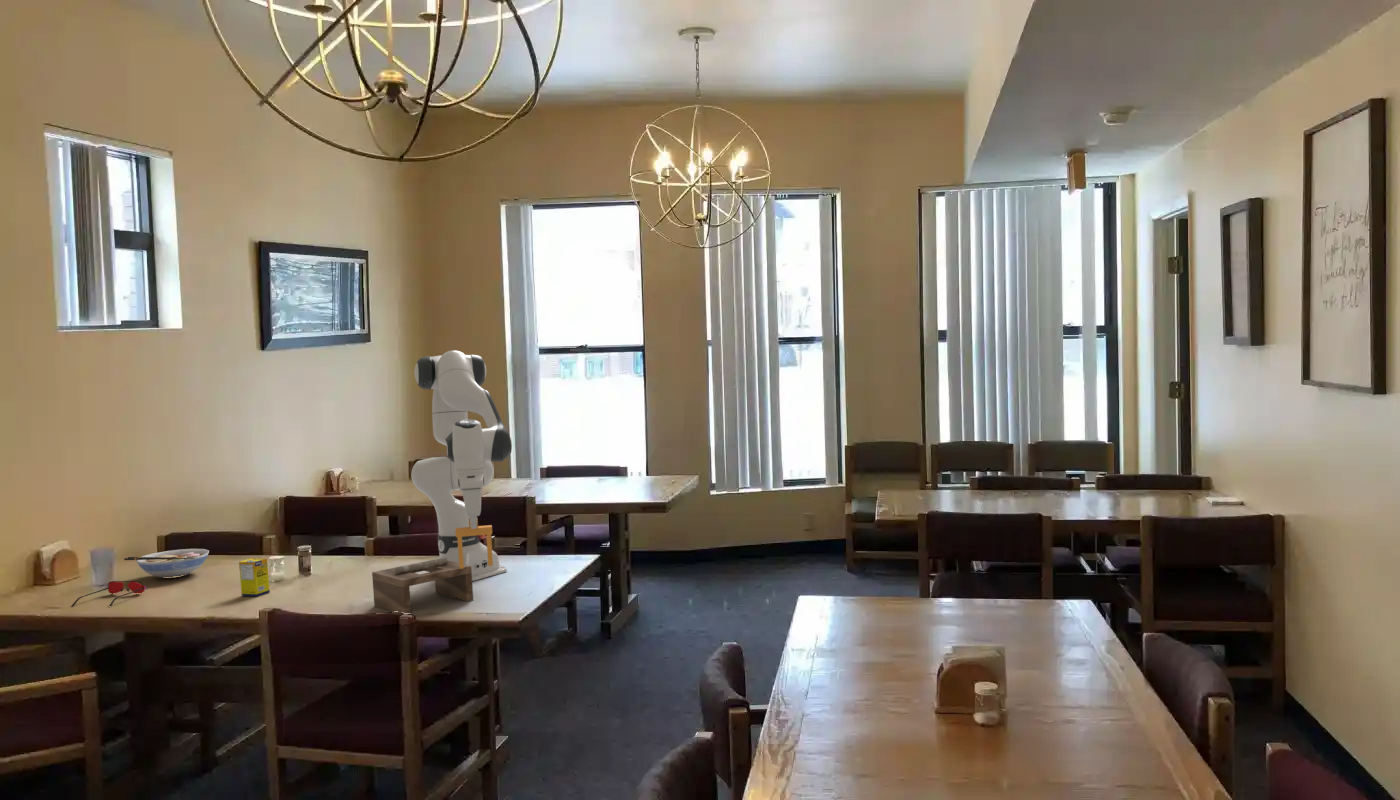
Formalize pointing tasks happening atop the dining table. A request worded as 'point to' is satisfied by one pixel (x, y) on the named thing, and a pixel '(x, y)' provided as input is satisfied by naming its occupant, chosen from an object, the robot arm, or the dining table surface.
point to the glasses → (120, 589)
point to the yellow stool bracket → (472, 532)
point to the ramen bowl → (172, 562)
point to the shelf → (396, 581)
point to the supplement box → (254, 577)
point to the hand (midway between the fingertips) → (473, 527)
